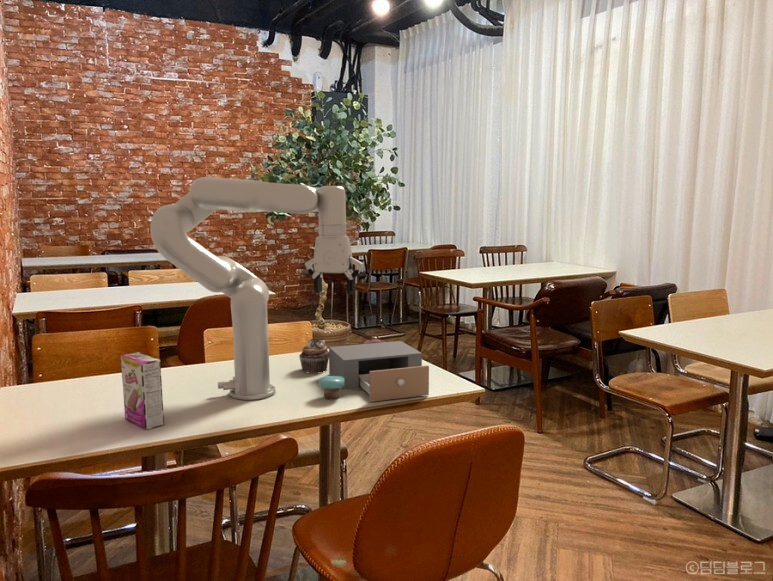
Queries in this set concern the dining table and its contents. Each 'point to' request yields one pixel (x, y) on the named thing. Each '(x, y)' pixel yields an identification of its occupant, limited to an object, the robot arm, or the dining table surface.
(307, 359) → the cupcake
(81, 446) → the dining table surface
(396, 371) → the brown drawer
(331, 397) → the brown rounded piece
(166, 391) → the dining table surface
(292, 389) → the dining table surface
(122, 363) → the candy bar box
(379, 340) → the video game controller
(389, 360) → the grey cabinet
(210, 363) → the dining table surface
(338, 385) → the disc
